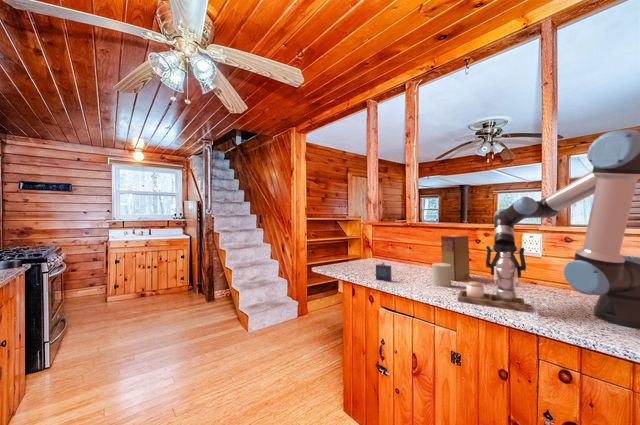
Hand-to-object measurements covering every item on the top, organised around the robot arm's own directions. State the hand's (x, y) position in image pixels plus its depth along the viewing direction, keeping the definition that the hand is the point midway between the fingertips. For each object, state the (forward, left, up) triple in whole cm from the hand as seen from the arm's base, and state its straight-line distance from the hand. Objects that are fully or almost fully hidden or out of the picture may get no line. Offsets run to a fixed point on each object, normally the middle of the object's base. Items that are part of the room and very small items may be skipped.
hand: (505, 282), depth 106 cm
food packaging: (+24, -45, -11) cm, 52 cm away
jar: (+11, -4, -10) cm, 15 cm away
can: (+28, -23, -11) cm, 38 cm away
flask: (+59, -20, -11) cm, 63 cm away
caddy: (+6, -4, -11) cm, 13 cm away
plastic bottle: (0, -4, -9) cm, 9 cm away
